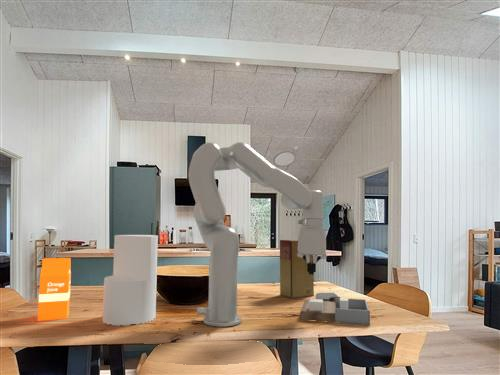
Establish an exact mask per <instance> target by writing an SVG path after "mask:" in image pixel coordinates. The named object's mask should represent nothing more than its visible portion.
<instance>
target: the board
mask: <svg viewBox="0 0 500 375" xmlns="http://www.w3.org/2000/svg"><path fill="white" fill-rule="evenodd" d="M309 301H310V299H309V300H304V302H303V305H302V307H301V309H300V321H305V320H316V321H315V322H319V321H327V322H326V323H333V322H335V308H336V302H333V301H323V311H309Z"/></svg>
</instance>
